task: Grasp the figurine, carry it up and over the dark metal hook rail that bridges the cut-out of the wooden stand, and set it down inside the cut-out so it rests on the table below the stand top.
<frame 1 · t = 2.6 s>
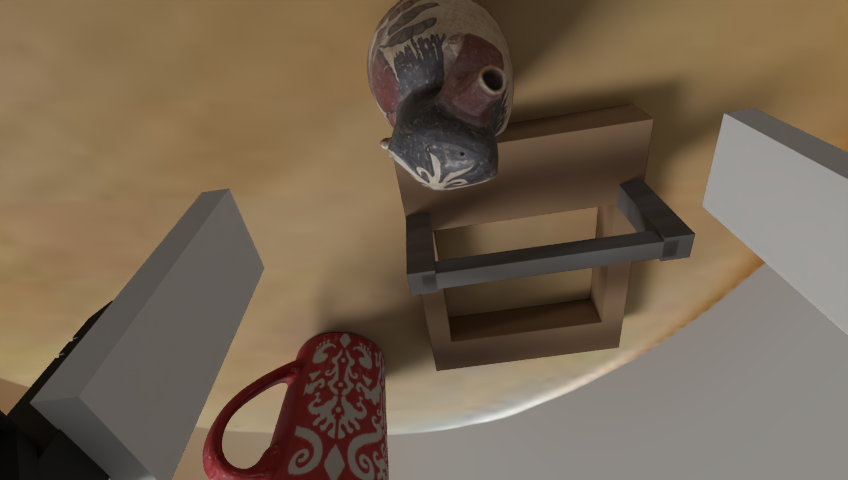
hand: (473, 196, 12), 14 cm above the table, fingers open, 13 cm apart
mug: (325, 350, 36), on the table
figurine: (435, 62, 24), on the table
wooden stand: (516, 246, 31), on the table
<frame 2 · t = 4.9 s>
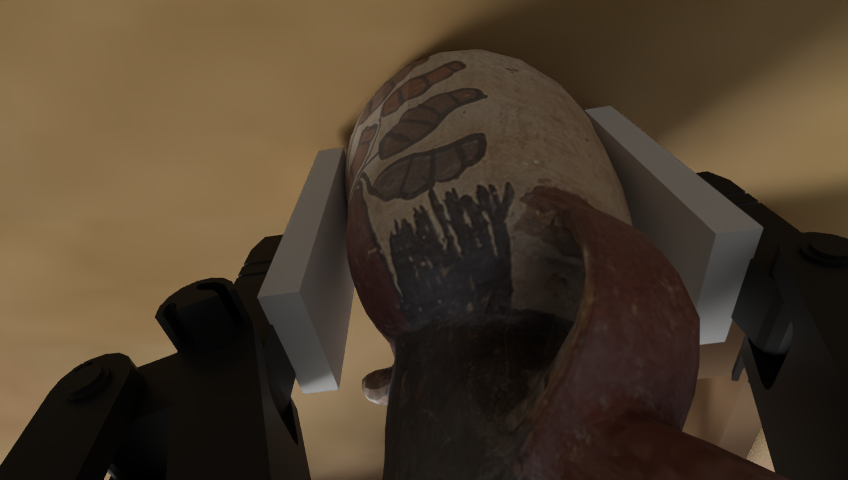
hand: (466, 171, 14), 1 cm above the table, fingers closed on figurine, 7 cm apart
figurine: (462, 160, 14), on the table, touching gripper
wooden stand: (573, 399, 21), on the table
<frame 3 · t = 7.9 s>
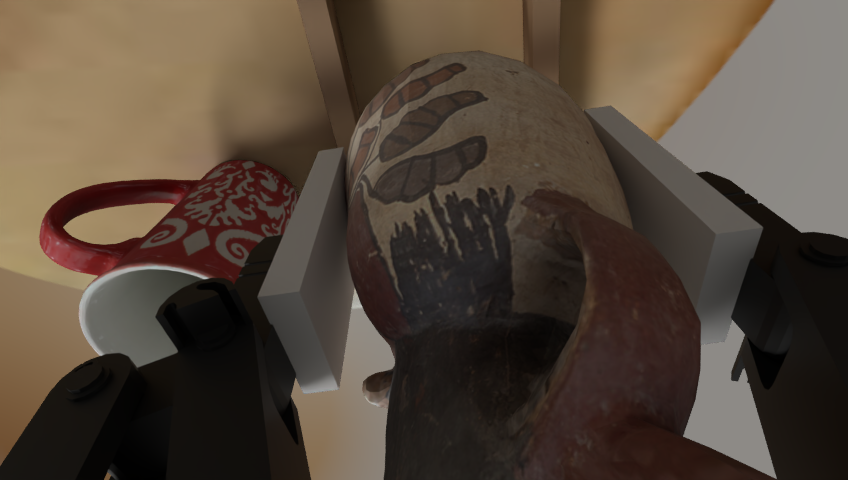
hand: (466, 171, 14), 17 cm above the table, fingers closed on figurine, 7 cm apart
mug: (232, 188, 32), on the table
figurine: (462, 162, 14), point 16 cm above the table, touching gripper
wooden stand: (433, 36, 27), on the table
when the fingers open (3 cm above the table, at t = 11.0 s): figurine drops 2 cm, resting in wooden stand.
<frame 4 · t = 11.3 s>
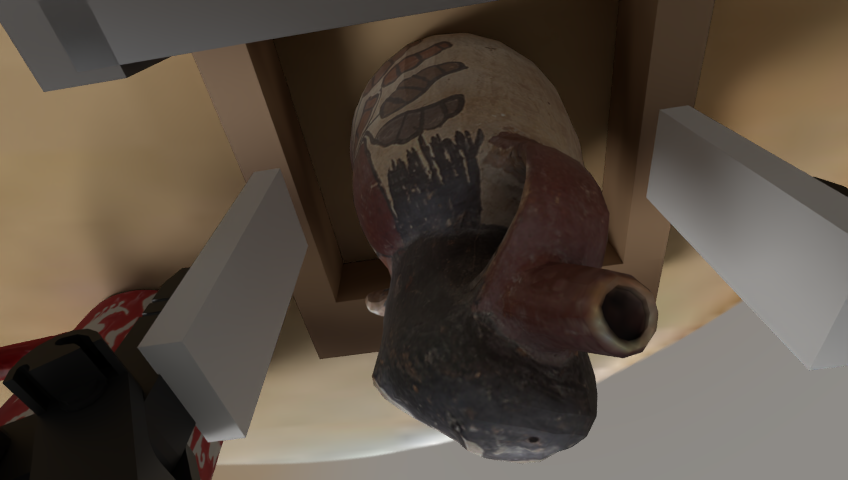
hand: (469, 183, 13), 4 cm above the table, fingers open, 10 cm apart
mug: (139, 324, 21), on the table
figurine: (452, 133, 16), resting in wooden stand
wooden stand: (453, 108, 16), on the table
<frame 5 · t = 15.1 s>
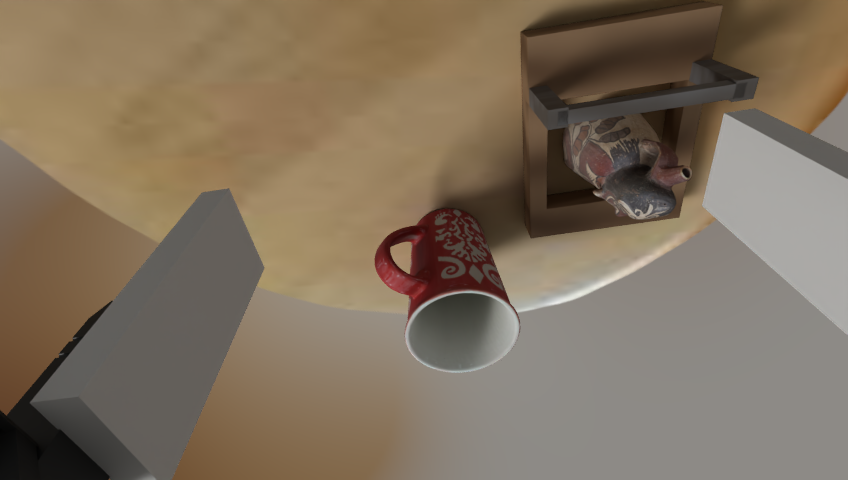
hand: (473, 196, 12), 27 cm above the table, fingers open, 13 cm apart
mug: (435, 227, 45), on the table
figurine: (598, 138, 40), resting in wooden stand
wooden stand: (602, 128, 39), on the table
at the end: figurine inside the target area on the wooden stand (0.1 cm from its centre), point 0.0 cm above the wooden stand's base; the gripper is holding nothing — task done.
